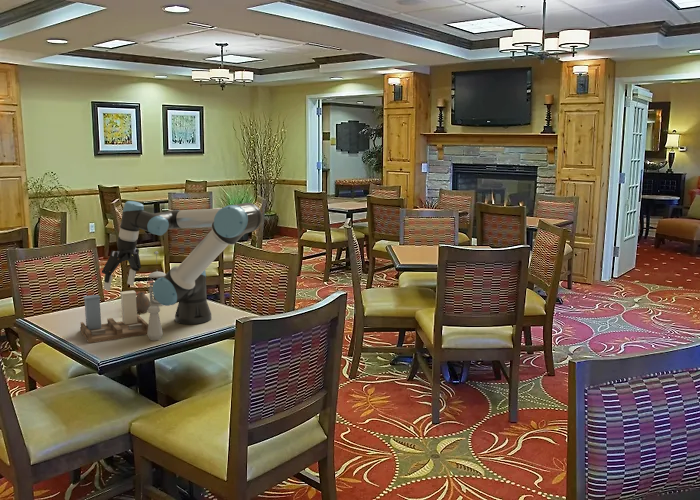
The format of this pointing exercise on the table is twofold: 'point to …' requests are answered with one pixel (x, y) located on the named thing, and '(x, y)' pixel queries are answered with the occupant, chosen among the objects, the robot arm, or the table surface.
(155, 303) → the french press
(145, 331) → the wooden divided tray
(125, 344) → the table surface
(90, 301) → the blue-grey rectangular block
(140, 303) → the vase
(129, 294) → the cream tall block
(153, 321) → the salt shaker
